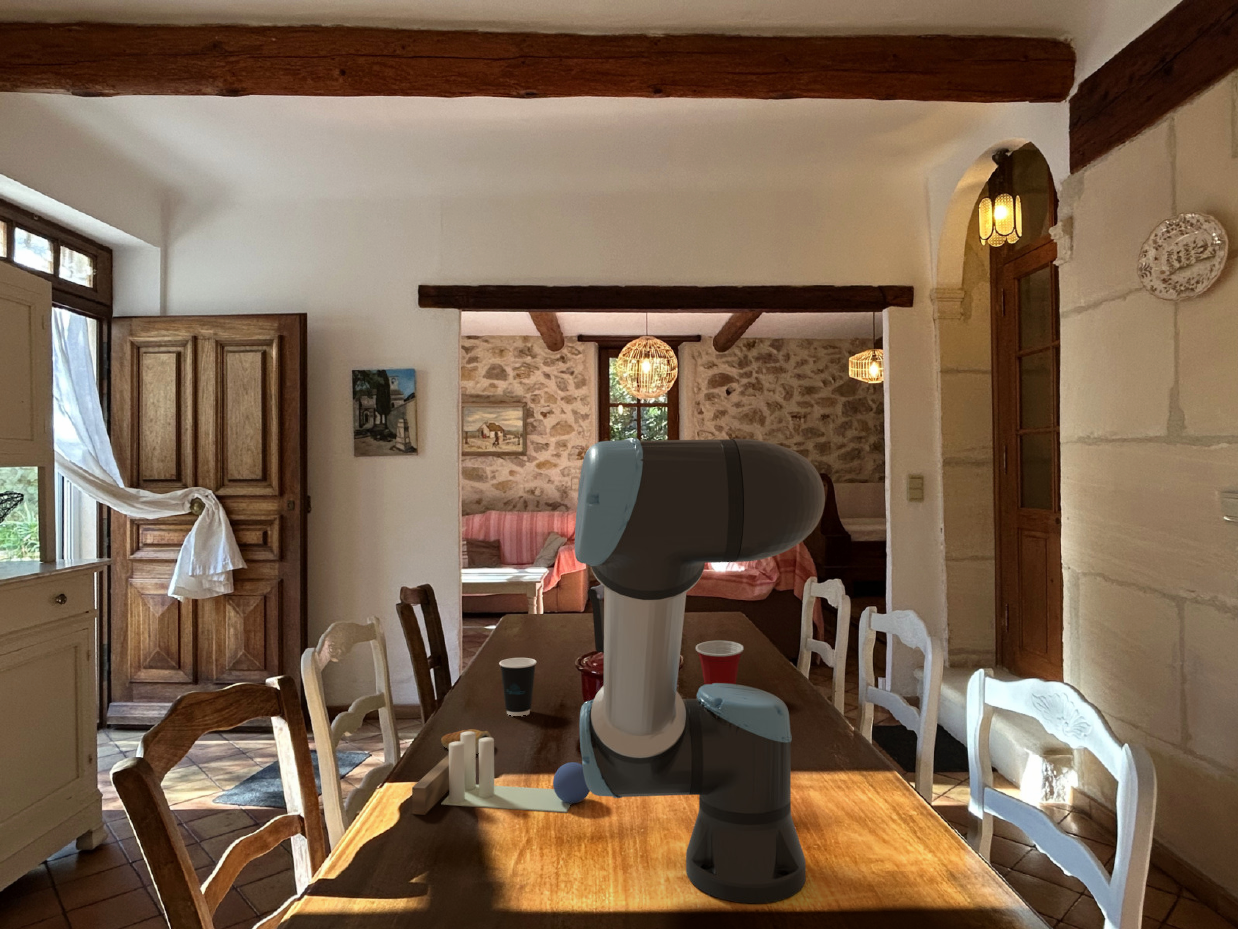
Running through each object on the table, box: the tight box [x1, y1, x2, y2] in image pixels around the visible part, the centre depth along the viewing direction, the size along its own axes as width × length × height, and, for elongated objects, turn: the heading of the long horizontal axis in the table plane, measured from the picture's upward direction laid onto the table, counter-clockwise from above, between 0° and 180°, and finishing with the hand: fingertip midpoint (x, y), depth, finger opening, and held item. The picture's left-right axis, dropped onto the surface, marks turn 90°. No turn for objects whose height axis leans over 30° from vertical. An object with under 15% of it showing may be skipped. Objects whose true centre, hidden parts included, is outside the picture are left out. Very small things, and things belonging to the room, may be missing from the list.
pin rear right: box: [448, 741, 465, 803], centre depth 127 cm, size 2×2×9 cm
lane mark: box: [441, 783, 573, 813], centre depth 128 cm, size 8×20×1 cm, turn 80°
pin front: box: [478, 737, 495, 798], centre depth 129 cm, size 2×2×9 cm
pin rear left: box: [460, 731, 477, 791], centre depth 132 cm, size 2×2×9 cm
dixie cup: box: [498, 657, 538, 717], centre depth 173 cm, size 8×8×11 cm
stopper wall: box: [411, 753, 449, 816], centre depth 131 cm, size 16×2×4 cm, turn 170°
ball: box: [552, 761, 591, 804], centre depth 127 cm, size 6×6×6 cm
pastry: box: [440, 728, 493, 755], centre depth 152 cm, size 9×7×4 cm
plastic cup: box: [695, 640, 744, 685], centre depth 183 cm, size 11×11×12 cm
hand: (631, 698), depth 125 cm, fingers open, 3 cm apart
